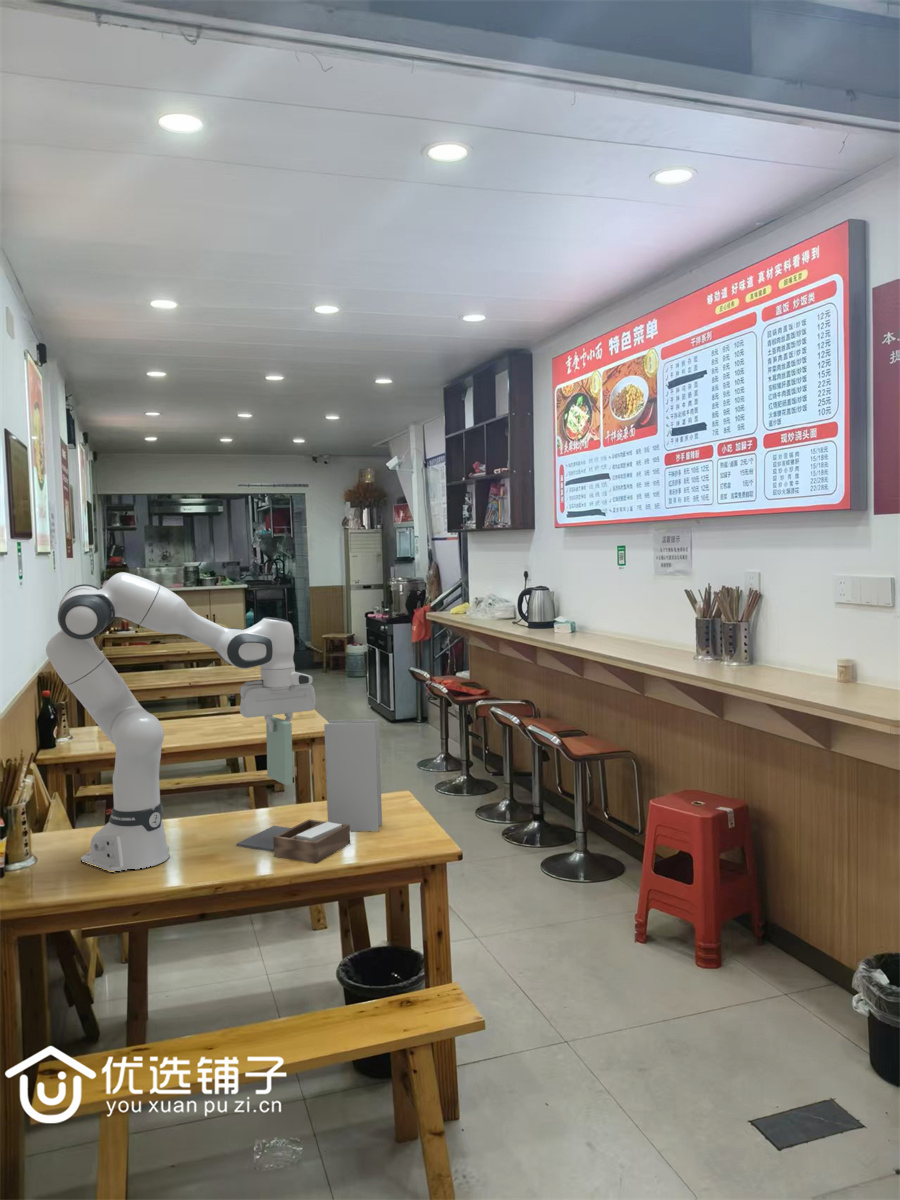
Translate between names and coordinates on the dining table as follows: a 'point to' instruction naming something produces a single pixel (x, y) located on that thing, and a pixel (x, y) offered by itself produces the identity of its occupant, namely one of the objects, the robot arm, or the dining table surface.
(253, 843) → the mat
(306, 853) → the rack
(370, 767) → the brochure
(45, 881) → the dining table surface
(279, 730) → the block
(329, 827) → the offcut upper
